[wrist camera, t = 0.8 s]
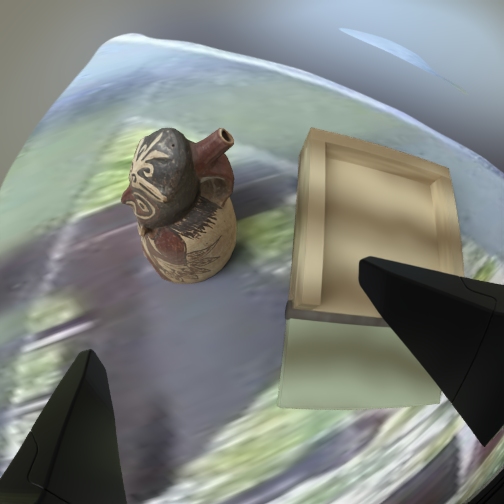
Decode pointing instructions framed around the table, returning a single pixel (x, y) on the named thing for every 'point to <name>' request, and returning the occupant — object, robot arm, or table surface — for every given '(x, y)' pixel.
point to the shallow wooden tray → (347, 269)
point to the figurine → (183, 203)
